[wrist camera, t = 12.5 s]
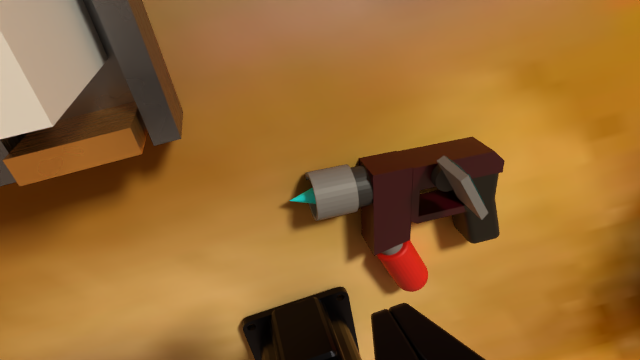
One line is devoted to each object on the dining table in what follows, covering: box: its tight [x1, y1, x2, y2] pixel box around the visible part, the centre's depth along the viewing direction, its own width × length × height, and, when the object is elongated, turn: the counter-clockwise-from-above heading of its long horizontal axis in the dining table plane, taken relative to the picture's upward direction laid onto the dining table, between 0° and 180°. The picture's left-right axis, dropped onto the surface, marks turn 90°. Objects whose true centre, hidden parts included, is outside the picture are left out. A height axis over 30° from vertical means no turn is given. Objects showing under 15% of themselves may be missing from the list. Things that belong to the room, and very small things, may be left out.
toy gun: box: [290, 137, 504, 292], centre depth 22 cm, size 10×12×5 cm
